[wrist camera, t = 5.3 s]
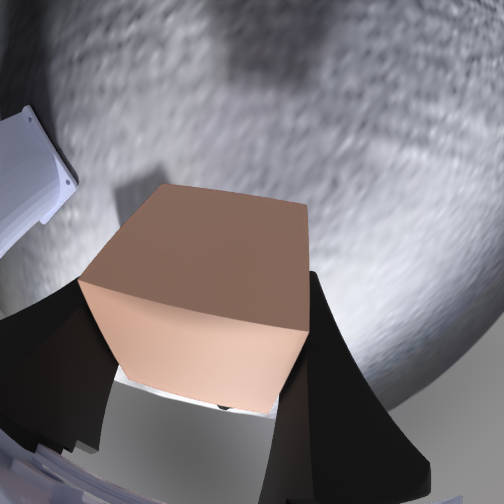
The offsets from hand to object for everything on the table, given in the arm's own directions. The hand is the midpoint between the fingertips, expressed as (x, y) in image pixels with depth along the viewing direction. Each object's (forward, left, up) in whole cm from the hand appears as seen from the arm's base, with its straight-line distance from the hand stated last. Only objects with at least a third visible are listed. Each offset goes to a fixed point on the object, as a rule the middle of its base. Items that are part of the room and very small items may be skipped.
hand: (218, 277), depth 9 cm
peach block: (0, 0, -1) cm, 1 cm away
